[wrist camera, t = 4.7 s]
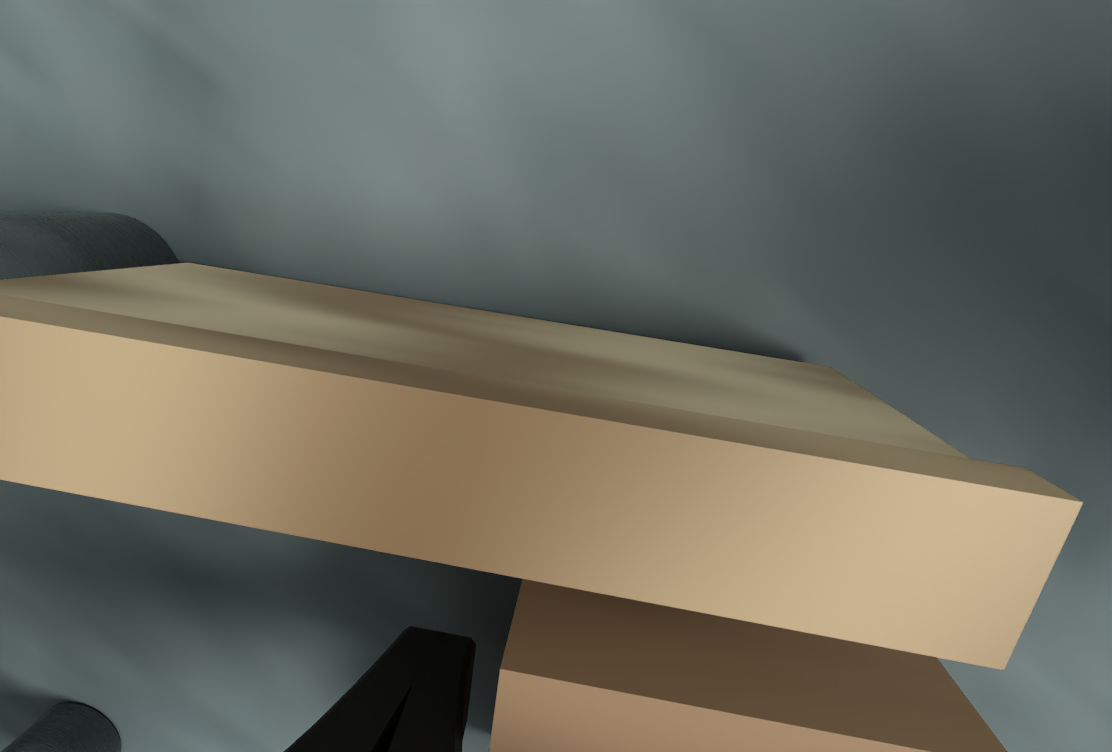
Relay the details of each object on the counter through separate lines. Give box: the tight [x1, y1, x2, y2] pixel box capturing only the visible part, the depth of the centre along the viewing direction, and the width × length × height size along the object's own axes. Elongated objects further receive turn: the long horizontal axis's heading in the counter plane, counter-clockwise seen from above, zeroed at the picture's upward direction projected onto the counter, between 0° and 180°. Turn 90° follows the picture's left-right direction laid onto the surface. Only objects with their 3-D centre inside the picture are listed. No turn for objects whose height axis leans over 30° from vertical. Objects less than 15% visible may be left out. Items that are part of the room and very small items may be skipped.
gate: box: [0, 263, 1083, 670], centre depth 7 cm, size 11×2×5 cm, turn 82°
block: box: [489, 579, 1007, 752], centre depth 9 cm, size 6×6×4 cm
